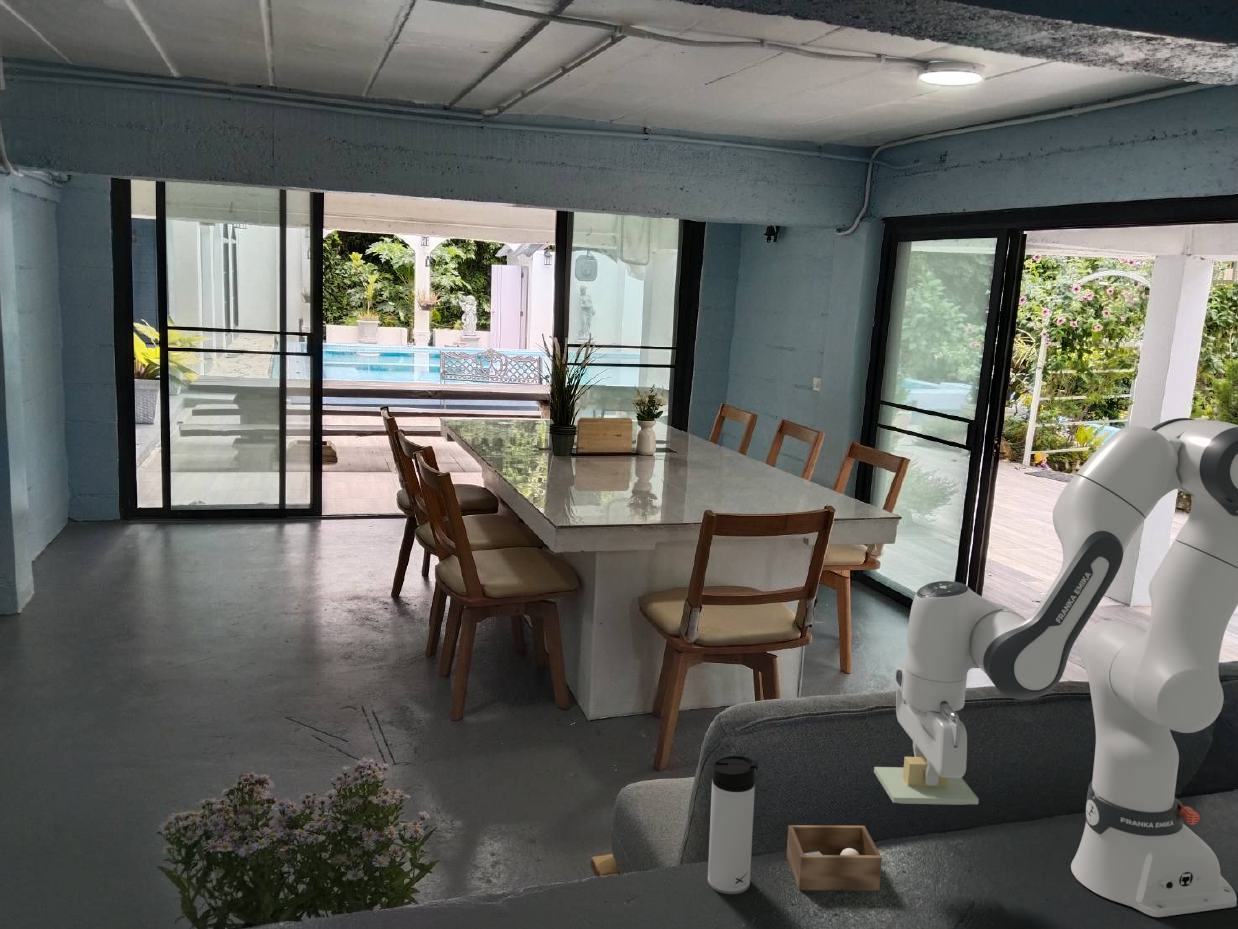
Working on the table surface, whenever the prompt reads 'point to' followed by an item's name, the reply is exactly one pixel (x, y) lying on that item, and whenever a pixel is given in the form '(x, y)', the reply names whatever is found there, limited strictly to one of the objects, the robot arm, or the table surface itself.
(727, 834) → the travel mug
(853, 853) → the cream ball
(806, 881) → the walnut box
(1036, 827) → the table surface
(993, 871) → the table surface
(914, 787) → the lid
